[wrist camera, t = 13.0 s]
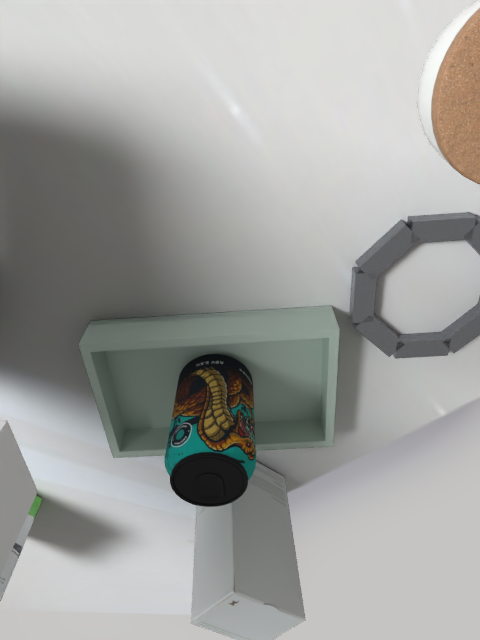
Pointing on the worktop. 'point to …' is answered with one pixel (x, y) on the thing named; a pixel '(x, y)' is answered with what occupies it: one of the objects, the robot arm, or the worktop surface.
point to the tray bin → (215, 338)
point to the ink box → (18, 546)
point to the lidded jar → (454, 93)
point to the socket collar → (385, 254)
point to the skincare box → (247, 564)
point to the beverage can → (212, 432)
